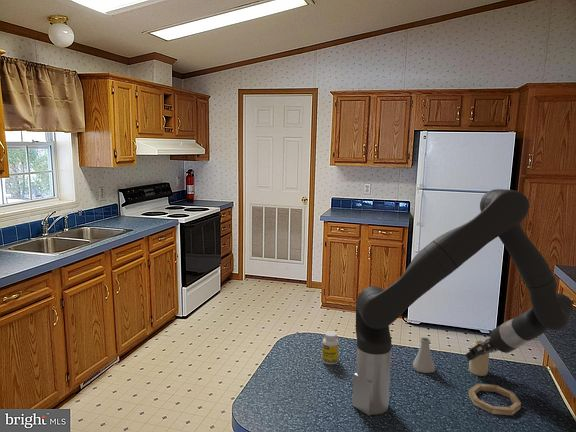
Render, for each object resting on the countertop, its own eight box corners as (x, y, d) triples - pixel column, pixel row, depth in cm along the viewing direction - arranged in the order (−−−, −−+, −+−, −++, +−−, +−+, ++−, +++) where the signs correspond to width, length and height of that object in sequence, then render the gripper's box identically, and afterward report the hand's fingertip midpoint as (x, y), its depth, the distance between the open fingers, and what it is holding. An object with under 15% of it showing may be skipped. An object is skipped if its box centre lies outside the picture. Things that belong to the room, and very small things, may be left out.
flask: (438, 374, 134) (440, 344, 133) (415, 373, 134) (417, 344, 133) (431, 362, 142) (433, 334, 140) (409, 362, 142) (411, 334, 140)
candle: (471, 365, 140) (474, 336, 138) (489, 371, 136) (492, 341, 135) (466, 372, 136) (468, 342, 134) (484, 378, 132) (487, 347, 131)
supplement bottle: (320, 363, 140) (320, 335, 139) (323, 355, 146) (324, 329, 144) (336, 366, 139) (337, 337, 137) (339, 358, 144) (340, 331, 142)
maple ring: (505, 420, 112) (506, 415, 111) (461, 398, 121) (462, 393, 121) (526, 403, 119) (527, 398, 119) (483, 384, 129) (483, 379, 128)
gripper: (519, 319, 129) (483, 340, 142) (487, 327, 123) (452, 348, 136) (534, 342, 126) (496, 362, 138) (502, 352, 119) (464, 371, 132)
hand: (474, 355), depth 137 cm, fingers closed on candle, 5 cm apart
